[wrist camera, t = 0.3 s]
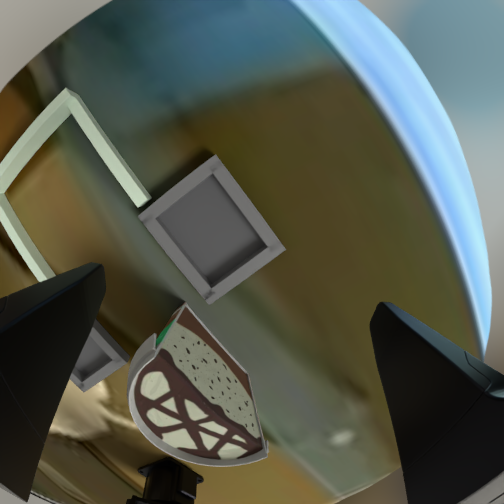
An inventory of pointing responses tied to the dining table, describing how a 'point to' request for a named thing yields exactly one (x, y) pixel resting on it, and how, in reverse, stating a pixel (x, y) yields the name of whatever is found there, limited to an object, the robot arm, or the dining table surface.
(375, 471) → the dining table surface
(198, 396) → the food container
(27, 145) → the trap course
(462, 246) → the dining table surface
